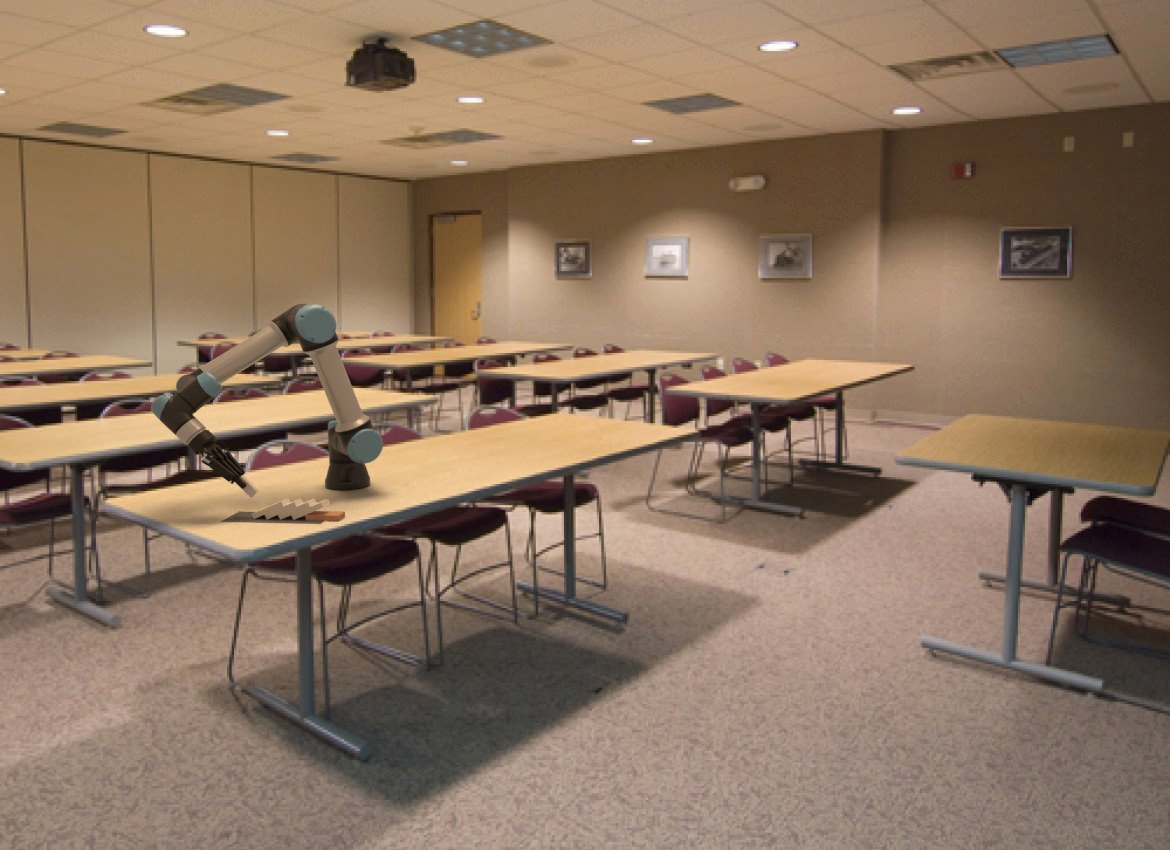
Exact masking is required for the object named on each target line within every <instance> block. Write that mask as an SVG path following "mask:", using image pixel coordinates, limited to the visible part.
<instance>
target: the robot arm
mask: <svg viewBox="0 0 1170 850" xmlns="http://www.w3.org/2000/svg"><path fill="white" fill-rule="evenodd" d="M336 331H337V322H336V318H335V316H334V314H333V312H332V311H331V310H330V309H328V308H327V307H325V306H322V305H321V304H317V303H300V304H295V305H293V306H291V307H290V308H288V309H286V310H285V311H283V312H282V313H281V314H279V315H278V316H276V317H275V318H274V319H272V320H270V321H269V322H268V325H267V326H266V327H264V328H263V329H261V330H259V331H258V332H257V333H255V334H253V335H252V336H250V337H247V339H245V340H243V341H241V342H240V343H238V344H236V345H235V346H233V347H232V348H230V349H228V350H227V351H225V352H224V353H222V354H220V355H219V356H216V357H215V358H213V359H212V360H210V361H209V362H207V363H205V364H204V365H202V366H201V367H198V368H197V369H195V370H193V372H191V373H187V374H183V375H181V376H180V377H178V379H177V381H176V384H175V390H176V392H177V393H175V394H173V393H171V392H164V393H163V394H161V395H159V396H158V397H157V398H155V399H154V401H153V402H152V403H151V405H150V410H151V413H152V414H153V415H154V416H155V417H157V419H158V420H159V421H160V422H161V423H162V424H163V425H164V426H165V427H166V428H167V429H169V431H170V432H172V433H173V434H174V435H175V436H176V437H177V438H178V439H179V441H180V442H182V443H183V444H184V445H185V446H187V448H188V450H190V451H191V452H192V453H193V454H194V455H195V456H199V455H201V456H202V457H203V459H202V460H201V463H202V464H204V465H205V466H207V467H208V468H210V469H211V470H213V471H214V472H215V473H217V474H218V475H219V476H221V478H223V479H224V480H226V481H227V482H229V483H230V484H231V485H234V483H235V484H236V485H237V486H238V487H239V488H240V489H241V490H242V491H243V492H244V493H245V494H246V495H248V497H249V498H253V497H255V495H256V494H258V492H260V491H259V489H258V488H257V487H256V486H255V485H254V484H253V483H252V482H251V481H250V480H249V479H248V478H247V477H246V476H245V474H246V471H245V469H244V468H243V467H242V466H241V465H240V463H239V462H238V460H237V459H236V458H235V457H234V456H233V455H232V453H231V451H230V450H229V448H227V447H225V448H224V449H223V448H221V446H220V445H218V444H217V443H216V439H217V437H216V436H215V435H214V433H212V432H211V431H210V430H209V429H207V427H206V426H205V425H204V424H203V423H202V421H200V420H199V419H198V418H197V417H196V416H194V414H196V413H197V412H198V411H199V410H200V409H202V408H203V407H204V406H205V405H206V404H208V403H209V402H210V401H211V400H213V399H214V398H215V397H217V395H218V394H220V393H221V392H222V391H223V385H222V384H223V383H225V382H227V381H228V380H229V379H231V378H233V377H234V376H237V374H240V373H241V372H243V371H245V370H246V369H248V368H249V367H251V366H253V365H254V364H256V363H257V362H258V361H260V360H262V359H264V358H265V357H266V356H268V355H270V354H272V353H273V352H275V351H277V350H278V349H280V348H282V347H284V348H288V347H290V346H291V345H293V344H294V343H297V342H298V343H299V346H300V348H301V351H302V352H303V353H304V354H306V355H309V357H310V359H311V362H312V364H313V366H314V369H315V371H316V374H317V376H318V378H319V381H320V384H321V386H322V389H323V391H324V393H325V395H326V398H327V400H328V403H329V405H330V408H331V411H332V413H333V416H334V418H335V420H331V421H330V420H329V422H327V441H328V457H329V458H328V460H329V461H328V463H329V465H328V469H327V472H326V477H325V479H324V487H325V489H326V488H327V489H330V490H336V491H338V490H339V491H343V490H344V491H345V490H346V491H348V490H357V489H363V488H366V487H369V486H370V485H371V477H370V475H369V471H368V468H367V466H366V464H369V463H372V462H373V461H376V459H378V457H380V455H381V454H382V451H383V447H384V441H383V437H382V436H381V434H380V433H379V431H378V430H375V427H374V425H373V422H372V421H371V418H370V416H369V415H367V414H364V413H363V410H362V408H361V406H360V404H359V400H358V398H357V395H356V393H355V390H354V388H353V386H352V384H351V380H350V378H349V375H348V373H347V371H346V368H345V366H344V365H345V364H344V363H343V360H342V358H341V355H340V353H339V350H338V348H337V345H338V342H339V336H338V335H337V332H336Z"/></svg>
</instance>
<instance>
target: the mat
mask: <svg viewBox="0 0 1170 850" xmlns="http://www.w3.org/2000/svg"><path fill="white" fill-rule="evenodd" d="M255 512H256V511H242V510H241V511H238V512H235V513H234V514H232V515H230V516H228V517H226V518H224V519H222V520H220V521H219V522H220V523H253V524H254V523H256V524H257V523H258V524H259V523H260V524H294V525H296V524H298V525H299V524H302V525H303V524H304V525H305V524H306V525H308V524H309V525H321V524H323V523H324V522H325V521H312V520H306V515H304V516H302V517H300V518H297V519H295V520H293V518H292V516H291V515H290V516H288V517H286V518H283V519H281V520H280V518H279V516H278V515H276V516H274V517H272V518H269V519H266V516H265V515H262V516H260V517H258V518H255V519H253V516H252V514H253V513H255Z"/></svg>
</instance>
